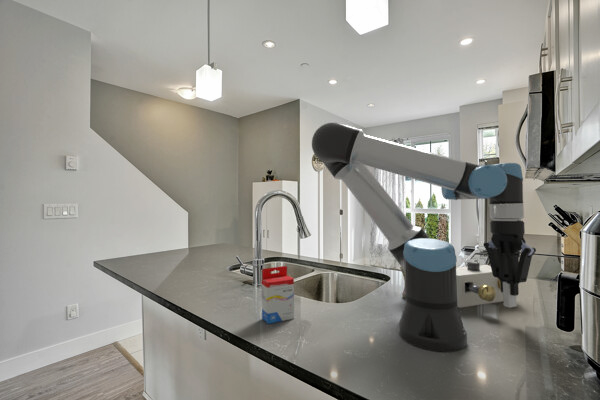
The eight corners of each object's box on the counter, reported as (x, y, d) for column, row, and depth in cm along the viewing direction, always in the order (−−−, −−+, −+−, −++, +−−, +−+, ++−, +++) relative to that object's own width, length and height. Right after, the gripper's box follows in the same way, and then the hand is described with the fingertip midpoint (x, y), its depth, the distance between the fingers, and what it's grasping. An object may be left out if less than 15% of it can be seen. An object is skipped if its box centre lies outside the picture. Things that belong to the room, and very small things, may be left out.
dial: (474, 271, 92) (473, 263, 92) (464, 269, 96) (464, 261, 96) (482, 270, 93) (482, 262, 93) (473, 268, 97) (472, 260, 97)
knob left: (484, 302, 80) (483, 287, 81) (459, 293, 89) (458, 279, 89) (496, 300, 82) (495, 285, 82) (469, 291, 90) (469, 278, 90)
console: (460, 307, 87) (458, 275, 87) (438, 298, 95) (437, 269, 96) (512, 300, 93) (511, 270, 93) (487, 292, 101) (486, 264, 102)
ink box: (267, 324, 77) (266, 272, 77) (261, 318, 81) (260, 268, 82) (295, 318, 81) (294, 268, 81) (287, 313, 85) (287, 265, 86)
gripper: (542, 220, 71) (546, 313, 70) (494, 218, 83) (497, 297, 83) (521, 221, 69) (525, 316, 68) (475, 219, 81) (478, 300, 81)
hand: (510, 305), depth 75 cm, fingers closed
